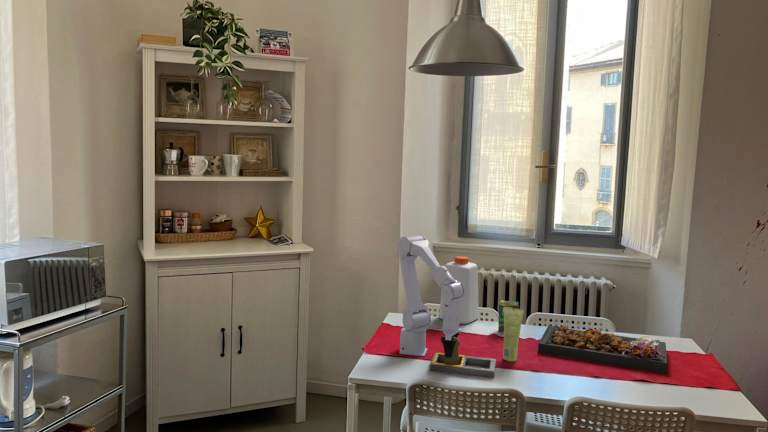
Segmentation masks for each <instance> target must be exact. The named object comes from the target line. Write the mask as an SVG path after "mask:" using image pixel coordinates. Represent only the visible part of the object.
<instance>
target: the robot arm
mask: <svg viewBox="0 0 768 432" xmlns="http://www.w3.org/2000/svg"><path fill="white" fill-rule="evenodd" d="M396 245H397V250H398V256H399V263H400V270H401V276H402V282H403V287H404V292H405V298H406V306H405V307H404V308H403V309H402V326H403V327H401V330H400V337H399V354H400V355H406V356H407V355H408V356H417V357H425V356H426V354H427V352H428V348H427V347H426V341H427V340H426V339H427V338H426V337H427V330H428V327H429V326H431V322H432V317H431V315H430V312H429V309H428V306H427V305H426V304H424V303H423V301H422V297H421V292H420V285H419V280H418V274H417V269H416V263H415V261H416V260H417V258H418V257H420V258H421V260H422V261H423V262H424V263H425V264H426V266H427V267H428V268H429V269H430V270H431V276H432V278H433V281H435V282H436V284H437V285H438V286H439V288H440V289H441V290H440V296H441V295H442V298H443V304H444V313H443V320H442V328H441V331H442V332H443V334H444V335H445V336H440V342H441V343H442V346H443V352H444V353H445V357H447V358H451V357H452V354H453V349H454V345H455V343H456V342H457V339H452V337H457V338H458V336H459V335H460V333H462V332H463V328H460V324H459V320H460V300H461V297H463V295H464V286H463V285H462V283H461V282H459V281H457V280H454V278H453V277H452V276H451V274H450V273H449V272H448V269H447V268H446V267H445V265H440V263H439V261H438V260H437V258H436V256H435V255H434V253H433V251H432V249H430V242H429V240H428V239H427V237H426V236H425V235H424V234H418V235H409V236H401V237H400V239H399V240H398V242H397V244H396Z"/></svg>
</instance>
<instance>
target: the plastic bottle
mask: <svg viewBox="0 0 768 432" xmlns="http://www.w3.org/2000/svg"><path fill="white" fill-rule="evenodd" d="M444 266H445V267H446V268H447V269H448V272H449V273H450V274H451V276H452V277H453V278H454V280H457V281H459V282H461V283H462V285H463V286H464V295H463V297H461V300H460V320H459V325H467V324H470V323H471V322H474V321H476V320H478V318H479V276H478V275H479V273H478V271H479V270H478V268H479V267H478V264H476V263H474V262H469V257H468V256H461V255H459V256H458V255H456V256H455V257H454V261H451V262H450V261H449V262H448V263H446V264H445V265H444ZM443 313H444V304H443V298H442V295H441V294H440V305H439V314H438V316H439V318H440V319H441V320H442V321H443Z"/></svg>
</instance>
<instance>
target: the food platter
mask: <svg viewBox="0 0 768 432" xmlns="http://www.w3.org/2000/svg"><path fill="white" fill-rule="evenodd" d="M666 344H667V343H666V342H665V341H660V340H659V339H655V340H654V339H652V338H650V337H649V336H647V335H641V336H640V337H638V338H636V337H631V336H625V335H623V336H622V335H617V334H615V333H613V332H611V333H610V332H609V333H607V332H602V331H601V330H600V329H599V328H594V329H593V328H591V327H590V328H588V329H585V330H583V329H576V328H570V327H568V325H567V324H563V325H561V326H558V325H547V326H546V329H545V331H544V332H543V335H542V336H541V338H540V340H539V342H538V345H537V346H538V348H537V353H539V354H543V355H549V356H550V355H551V356H556V357H563V358H568V359H574V360H582V361H588V362H594V363H599V364H600V363H601V364H605V363H606V365H612V366H618V367H625V368H630V369H635V370H636V369H637V370H642V371H643V370H644V371H649V372H654V373H655V372H656V373H662V374H667V371H668V356H667V345H666Z"/></svg>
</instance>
